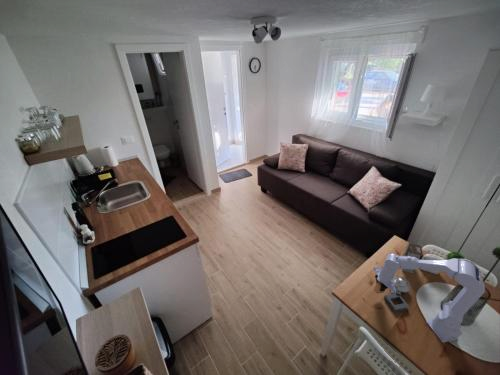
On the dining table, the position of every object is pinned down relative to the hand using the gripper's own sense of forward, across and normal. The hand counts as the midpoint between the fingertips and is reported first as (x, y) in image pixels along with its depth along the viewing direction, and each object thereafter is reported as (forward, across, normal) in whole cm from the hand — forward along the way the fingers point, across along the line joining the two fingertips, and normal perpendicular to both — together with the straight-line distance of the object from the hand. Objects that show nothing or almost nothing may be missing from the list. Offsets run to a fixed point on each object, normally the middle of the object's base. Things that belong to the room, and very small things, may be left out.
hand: (380, 288), depth 117 cm
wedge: (+3, 0, 0) cm, 3 cm away
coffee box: (+7, -14, +30) cm, 34 cm away
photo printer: (+8, -9, +41) cm, 43 cm away
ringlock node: (+7, +1, +11) cm, 14 cm away
